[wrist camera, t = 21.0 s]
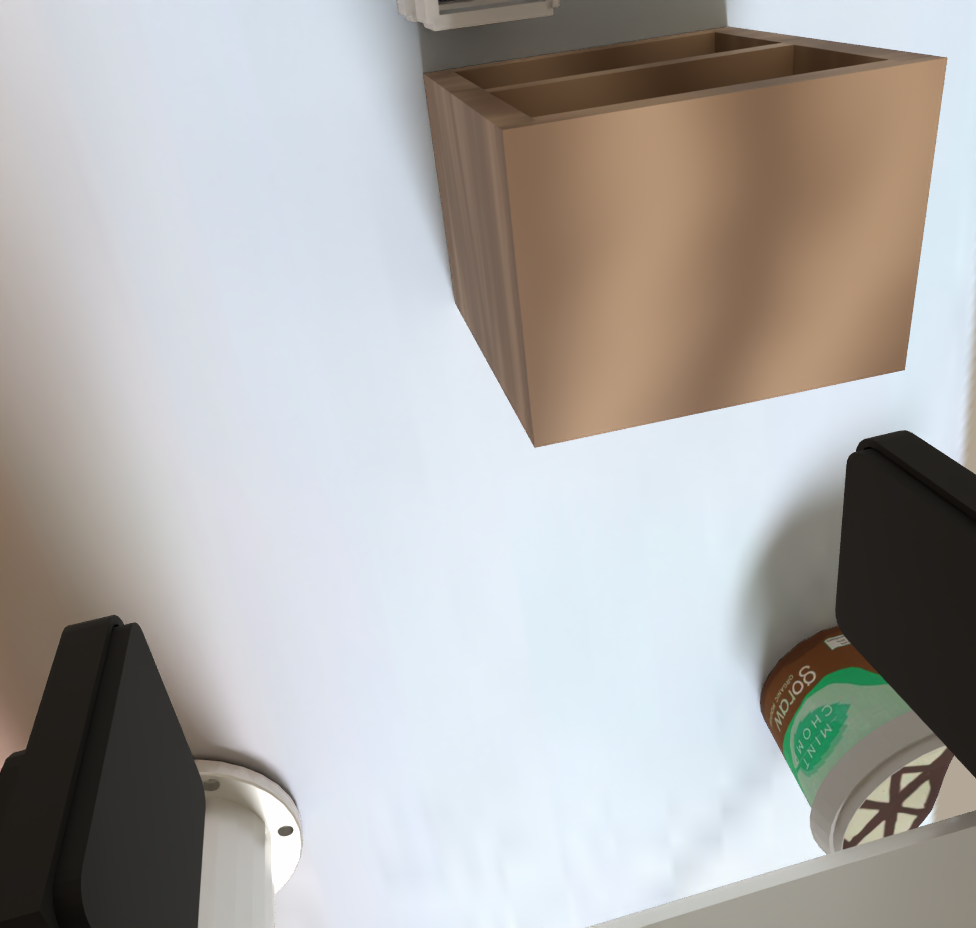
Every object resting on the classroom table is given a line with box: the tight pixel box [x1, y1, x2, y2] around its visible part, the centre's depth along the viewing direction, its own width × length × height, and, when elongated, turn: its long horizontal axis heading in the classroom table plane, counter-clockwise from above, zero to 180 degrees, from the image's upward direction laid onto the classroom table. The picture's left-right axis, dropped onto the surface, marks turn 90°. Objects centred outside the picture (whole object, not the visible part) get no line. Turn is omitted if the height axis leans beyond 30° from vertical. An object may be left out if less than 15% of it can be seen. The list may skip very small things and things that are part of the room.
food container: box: [760, 626, 954, 855], centre depth 49 cm, size 12×6×10 cm, turn 170°
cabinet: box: [423, 0, 947, 448], centre depth 29 cm, size 12×14×13 cm
